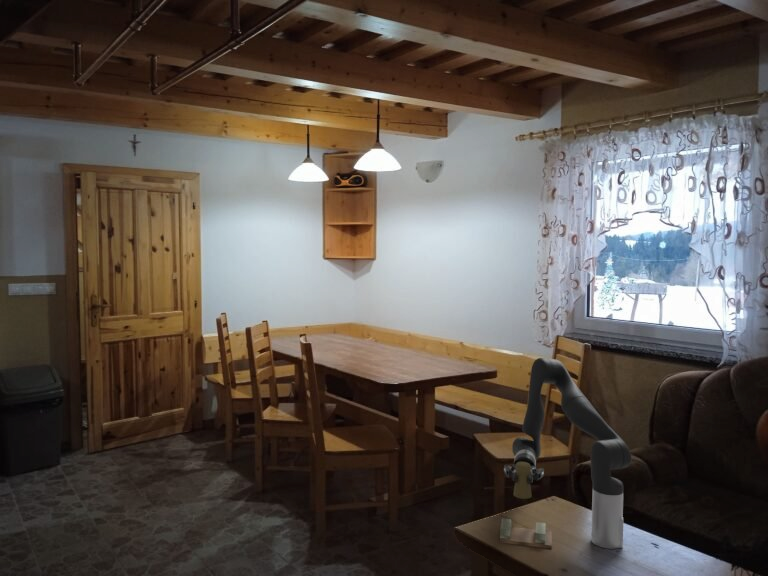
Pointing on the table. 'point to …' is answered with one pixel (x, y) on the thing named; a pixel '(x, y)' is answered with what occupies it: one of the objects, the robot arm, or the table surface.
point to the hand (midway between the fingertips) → (522, 480)
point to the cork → (522, 481)
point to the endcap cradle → (525, 535)
